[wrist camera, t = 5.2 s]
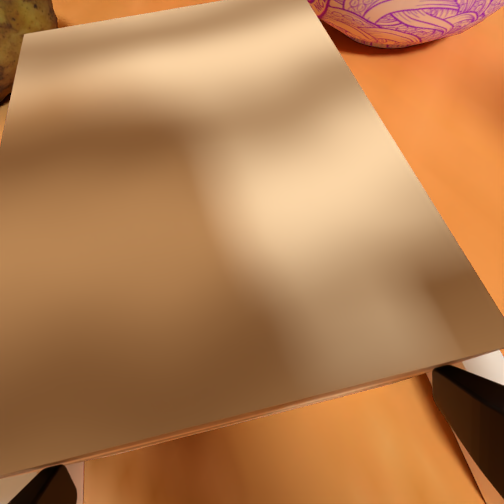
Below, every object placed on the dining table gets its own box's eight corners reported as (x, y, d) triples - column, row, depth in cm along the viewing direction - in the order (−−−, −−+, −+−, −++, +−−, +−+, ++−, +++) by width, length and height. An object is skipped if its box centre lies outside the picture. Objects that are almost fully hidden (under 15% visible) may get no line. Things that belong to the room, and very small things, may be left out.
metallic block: (387, 385, 14) (519, 343, 7) (117, 454, 13) (-75, 494, 6) (288, 137, 22) (298, -13, 14) (111, 173, 21) (24, 34, 13)
